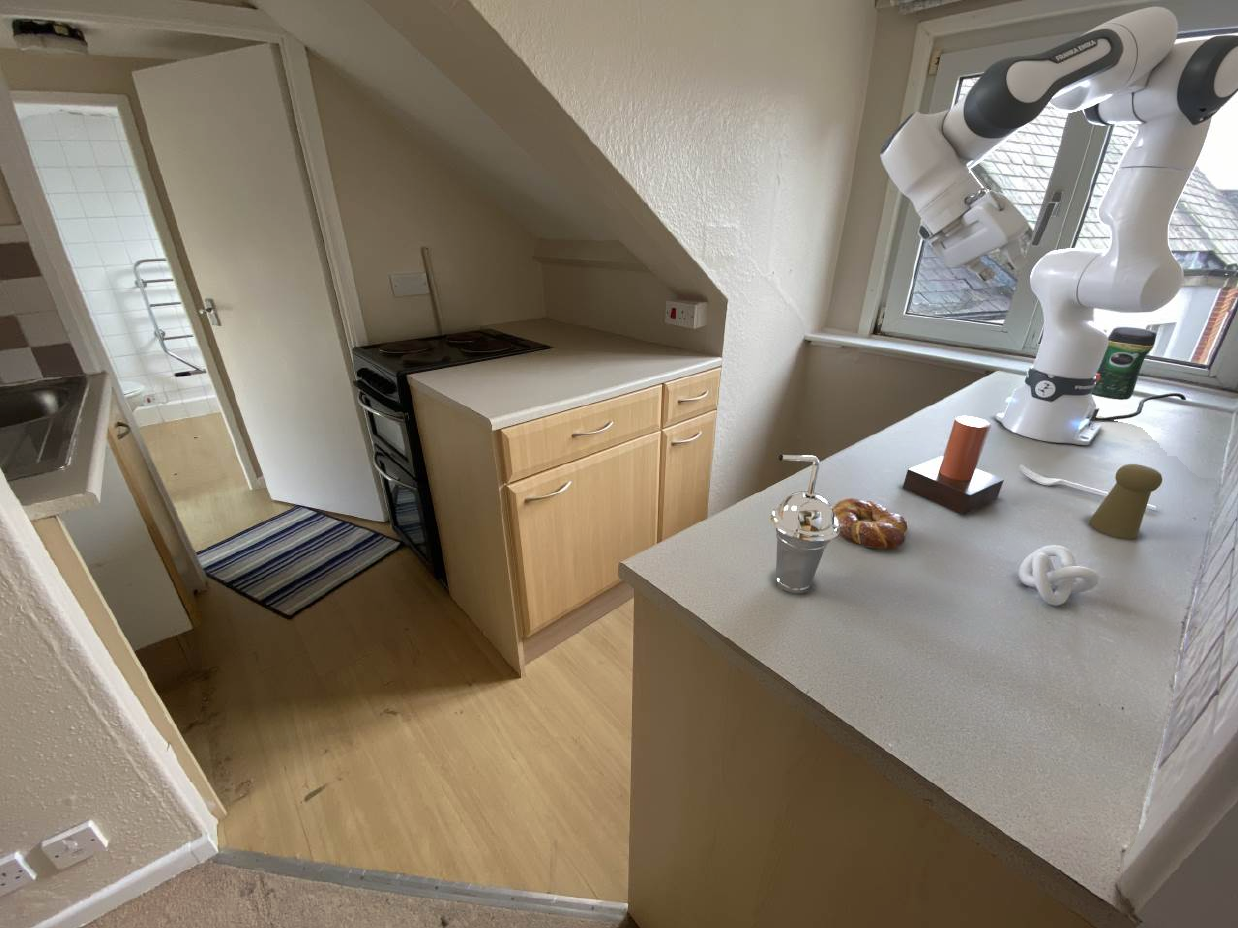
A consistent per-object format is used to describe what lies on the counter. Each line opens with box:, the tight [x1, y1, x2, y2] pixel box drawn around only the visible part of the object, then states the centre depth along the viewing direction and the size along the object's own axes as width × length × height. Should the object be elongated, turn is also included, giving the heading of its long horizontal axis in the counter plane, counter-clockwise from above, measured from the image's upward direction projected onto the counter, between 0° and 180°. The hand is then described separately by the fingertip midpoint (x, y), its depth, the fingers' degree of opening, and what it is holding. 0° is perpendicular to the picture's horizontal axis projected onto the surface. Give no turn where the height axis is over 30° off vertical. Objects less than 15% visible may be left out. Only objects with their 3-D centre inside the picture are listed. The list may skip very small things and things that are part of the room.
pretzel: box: [832, 497, 908, 550], centre depth 83 cm, size 12×11×4 cm
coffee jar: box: [1091, 326, 1157, 401], centre depth 142 cm, size 10×8×19 cm
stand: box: [902, 455, 1005, 516], centre depth 94 cm, size 11×11×4 cm
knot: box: [1018, 544, 1100, 607], centre depth 70 cm, size 8×8×6 cm
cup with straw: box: [770, 454, 840, 595], centre depth 68 cm, size 8×9×20 cm
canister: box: [939, 415, 992, 481], centre depth 91 cm, size 5×5×10 cm
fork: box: [1018, 463, 1157, 511], centre depth 96 cm, size 3×20×2 cm, turn 47°
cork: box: [1088, 463, 1163, 540], centre depth 83 cm, size 6×6×11 cm
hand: (1004, 273), depth 88 cm, fingers open, 8 cm apart
